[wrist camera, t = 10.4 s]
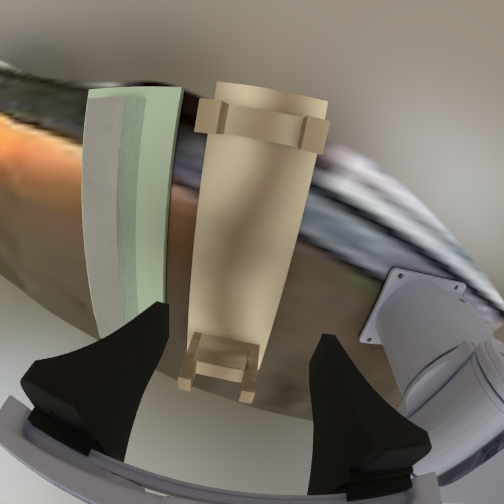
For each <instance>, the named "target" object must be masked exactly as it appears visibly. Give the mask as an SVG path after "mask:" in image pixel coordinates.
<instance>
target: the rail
mask: <svg viewBox="0 0 504 504" xmlns="http://www.w3.org/2000/svg"><path fill="white" fill-rule="evenodd" d="M145 105H146V100H145V99H139V98H133V97H126V96H123V97H100V98H88V105H87V113H86V122H85V132H84V146H83V167H82V205H83V226H84V240H85V251H86V260H87V269H88V276H89V283H90V289H91V296H92V301H93V307H94V312H95V317H96V322H97V327H98V331H99V335H100V338H102V339H103V338H104V337H106V336H108V335H110V334H111V333H113V332H114V331H116V330H118V329H119V328H121V327H122V326H124V325H125V324H127V323H128V322H129V321H131V320H132V319H134V318H135V317H136V316H138V315H139V312H138V298H137V281H136V195H137V178H138V164H139V153H140V143H141V134H142V126H143V119H144V112H145Z"/></svg>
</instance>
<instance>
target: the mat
mask: <svg viewBox="0 0 504 504" xmlns="http://www.w3.org/2000/svg"><path fill="white" fill-rule="evenodd" d="M184 89H185V88H182V87H116V88H101V89H90V90H89V93H88V98H100V97H123V96H126V97H133V98H139V99H145V100H146V105H145V112H144V119H143V126H142V134H141V143H140V153H139V164H138V178H137V195H136V281H137V298H138V312H139V314H140V313H142V312H143V311H144V310H146V309H147V308H148V307H149V306H151V305H152V304H153V303H155V302H156V301H158V302H162V303H165V289H166V251H167V231H168V216H169V203H170V191H171V181H172V171H173V162H174V154H175V146H176V138H177V131H178V125H179V118H180V112H181V106H182V100H183V94H184ZM87 105H88V100H87ZM86 113H87V107H86ZM85 122H86V116H85ZM84 132H85V125H84ZM83 146H84V136H83ZM82 167H83V151H82ZM82 220H83V205H82ZM83 235H84V226H83ZM84 247H85V240H84ZM85 257H86V251H85ZM86 265H87V260H86ZM87 273H88V269H87ZM88 280H89V276H88ZM89 287H90V283H89ZM90 293H91V289H90ZM91 299H92V296H91ZM92 304H93V301H92ZM93 310H94V307H93ZM94 315H95V312H94ZM95 319H96V317H95Z"/></svg>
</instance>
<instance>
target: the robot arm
mask: <svg viewBox="0 0 504 504" xmlns="http://www.w3.org/2000/svg"><path fill="white" fill-rule="evenodd" d="M400 273H402V274H401V276H398V275H399V274H400ZM455 286H456V287H455ZM454 287H455V288H454ZM465 289H466V285H465V284H464V283H463V282H458V281H454V280H450V279H445V278H441V277H436V276H432V275H427V274H423V273H418V272H414V271H409V270H405V269H400V268H393V269H392V270H391V271H390V272H389V275H388V277H387V279H386V282H385V284H384V286H383V289H382V291H381V293H380V295H379V298H378V300H377V302H376V304H375V306H374V308H373V310H372V312H371V314H370V316H369V319H368V321H367V323H366V325H365V327H364V328H363V330H362V332H361V334H360V336H359V340H360V342H362V343H370V344H381V345H383V348H384V350H385V353H386V356H387V358H388V361H389V364H390V366H391V369H392V372H393V375H394V377H395V380H396V383H397V386H398V389H399V392H400V395H401V398H402V401H403V402H402V404H401V406H400V407H399V408H398V409H397V411H396V410H395V409H394V408H393V407H391V406H390V405H389V404H388V403H387V402H386V401H385V400H384V399H383V398H382V397H381V396H380V395H379V394H378V393H377V392H376V391H375V390H374V389H373V388H372V387H371V385H370V384H369V383H368V382H367V381H366V379H365V378H364V377H363V376H362V374H361V373H360V372H359V370H358V369H357V367H356V366H355V365H354V363H353V362H352V360H351V359H350V357H349V356H348V354H347V353H346V351H345V350H344V348H343V347H342V345H341V344H340V342H339V341H338V339H337V338H336V336H335V335H330V334H322V336H321V339H320V341H319V343H318V345H317V348H316V350H315V352H314V354H313V356H312V358H311V360H310V363H309V385H310V394H311V403H312V412H313V424H314V433H313V454H312V465H311V473H310V480H309V487H308V492H307V495H302V496H301V495H298V496H297V495H295V496H294V495H270V494H257V493H247V492H238V491H231V490H224V489H217V488H212V487H206V486H202V485H197V484H192V483H188V482H184V481H180V480H176V479H172V478H168V477H165V476H162V475H158V474H155V473H152V472H149V471H145V470H143V469H140V468H137V467H134V466H131V465H129V464H126V463H124V458H125V454H126V449H127V445H128V441H129V437H130V433H131V429H132V426H133V423H134V420H135V416H136V413H137V410H138V407H139V404H140V401H141V398H142V395H143V393H144V391H145V389H146V386H147V384H148V382H149V380H150V378H151V376H152V374H153V372H154V370H155V368H156V366H157V364H158V362H159V360H160V358H161V356H162V354H163V352H164V349H165V346H166V344H167V341H168V338H169V304H166V303H162V302H158V301H156V302H155V303H153V304H152V305H151V306H149V307H148V308H147V309H146V310H144V311H143V312H142V313H140V314H139V315H138V316H136V317H135V318H134V319H132V320H131V321H129V322H128V323H127V324H125V325H124V326H122V327H121V328H119V329H118V330H116V331H114V332H113V333H111V334H110V335H108V336H106V337H104V338H103V339H101V340H99V341H97V342H95V343H93V344H90V345H88V346H86V347H83V348H81V349H78V350H76V351H73V352H70V353H67V354H64V355H60V356H56V357H52V358H47V359H42V360H36V361H35V362H34V363H33V364H32V365H31V367H30V368H29V369H28V371H27V372H26V373H25V375H24V376H23V377H22V379H21V381H20V383H21V386H22V389H23V390H24V392H25V394H26V395H27V396H28V398H29V399H30V401H31V402H32V404H33V405H34V409H33V410H32V411H31V410H30V409H29V408H28V407H26V406H25V405H24V404H22V403H21V402H20V401H18V400H17V399H15V398H14V397H12V396H9V397H8V399H7V400H6V402H5V403H4V405H3V406H2V408H1V409H0V445H1V446H2V447H3V448H4V449H5V450H6V451H8V452H9V453H10V454H11V455H12V456H13V457H15V458H16V459H17V460H19V461H20V462H21V463H23V464H24V465H25V466H27V467H28V468H30V469H31V470H32V471H34V472H35V473H37V474H38V475H39V476H41V477H42V478H44V479H45V480H47V481H49V482H50V483H52V484H53V485H55V486H57V487H58V488H60V489H62V490H63V491H65V492H67V493H69V494H70V495H72V496H74V497H76V498H78V499H80V500H81V501H83V502H85V503H87V504H442V503H463V504H504V344H503V343H502V342H501V341H499V340H497V339H494V337H493V333H492V331H491V329H490V327H489V326H488V325H487V324H486V322H485V321H484V320H483V318H482V317H481V316H480V315H479V313H478V312H477V311H476V310H475V308H474V307H473V306H472V305H471V304H470V302H469V301H468V300H467V299H466V298H465V297H464V295H463V293H464V291H465ZM368 338H369V339H368ZM140 486H141V487H140ZM143 487H144V488H147V489H150V490H153V491H157V492H160V493H163V494H167V495H171V496H166V497H164V496H160V495H156V494H152V493H148V492H145V489H144V488H143ZM172 496H174V497H172Z"/></svg>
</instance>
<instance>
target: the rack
mask: <svg viewBox="0 0 504 504" xmlns="http://www.w3.org/2000/svg"><path fill="white" fill-rule="evenodd" d="M327 105H328V101H324V100H320V99H316V98H312V97H308V96H303V95H298V94H294V93H290V92H285V91H280V90H274V89H269V88H263V87H256V86H250V85H243V84H235V83H226V82H217V86H216V91H215V96H214V99H204V98H200V100H199V106H198V112H197V118H196V124H195V130H194V132H201V133H208V137H207V143H206V150H205V156H204V163H203V170H202V178H201V185H200V193H199V201H198V210H197V219H196V228H195V238H194V248H193V259H192V271H191V284H190V299H189V316H188V337H187V353H186V356H185V358H184V361H183V364H182V367H181V369H180V372H179V375H178V388H179V389H182V390H186V391H191V388H192V385H193V382H194V378H195V375H196V373H197V374H202V375H206V376H211V377H215V378H220V379H225V380H230V381H235V382H241V389H240V396H239V402H244V403H250V404H251V403H252V401H253V398H254V395H255V390H256V379H257V369H259V368H260V365H261V362H262V359H263V355H264V352H265V349H266V346H267V342H268V339H269V336H270V333H271V329H272V326H273V322H274V319H275V316H276V312H277V309H278V305H279V302H280V298H281V295H282V291H283V288H284V284H285V281H286V277H287V273H288V270H289V266H290V262H291V259H292V255H293V251H294V247H295V243H296V240H297V236H298V232H299V228H300V224H301V220H302V216H303V212H304V208H305V204H306V200H307V196H308V191H309V187H310V183H311V179H312V174H313V170H314V166H315V161H316V157H317V154H320V155H323V152H324V147H325V143H326V138H327V134H328V129H329V124H330V121H327V120H325V115H326V109H327Z"/></svg>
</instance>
